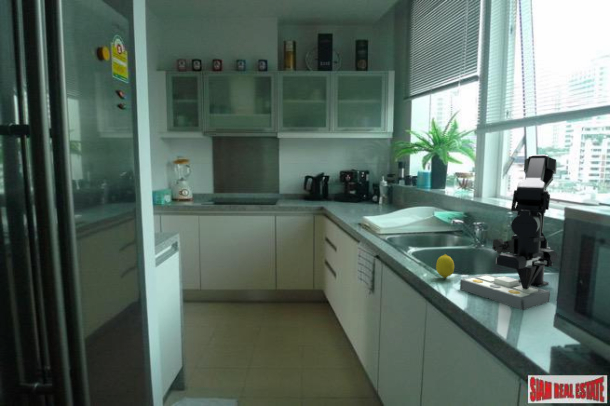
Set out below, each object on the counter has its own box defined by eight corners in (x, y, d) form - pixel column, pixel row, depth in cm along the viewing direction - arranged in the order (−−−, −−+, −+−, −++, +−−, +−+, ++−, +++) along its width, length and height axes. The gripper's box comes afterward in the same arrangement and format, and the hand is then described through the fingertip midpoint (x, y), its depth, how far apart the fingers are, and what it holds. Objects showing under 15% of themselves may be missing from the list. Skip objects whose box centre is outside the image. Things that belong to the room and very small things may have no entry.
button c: (521, 293, 106) (522, 285, 105) (537, 298, 102) (538, 289, 102) (512, 296, 104) (512, 287, 103) (528, 301, 100) (528, 292, 100)
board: (485, 283, 118) (486, 273, 118) (549, 302, 101) (550, 290, 101) (460, 289, 112) (460, 278, 112) (522, 310, 96) (523, 297, 95)
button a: (486, 283, 115) (486, 275, 115) (499, 287, 111) (500, 279, 111) (477, 285, 113) (477, 277, 113) (490, 289, 109) (490, 281, 109)
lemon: (449, 275, 126) (450, 252, 125) (456, 280, 121) (457, 256, 120) (433, 276, 126) (433, 252, 125) (439, 281, 121) (440, 256, 120)
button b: (503, 284, 110) (503, 276, 110) (518, 288, 107) (518, 279, 106) (494, 286, 108) (494, 278, 108) (508, 291, 104) (509, 282, 104)
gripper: (519, 225, 113) (517, 276, 114) (479, 230, 104) (476, 285, 105) (559, 231, 103) (556, 286, 104) (518, 237, 94) (515, 297, 95)
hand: (525, 288), depth 103 cm, fingers closed, pressing on button c
